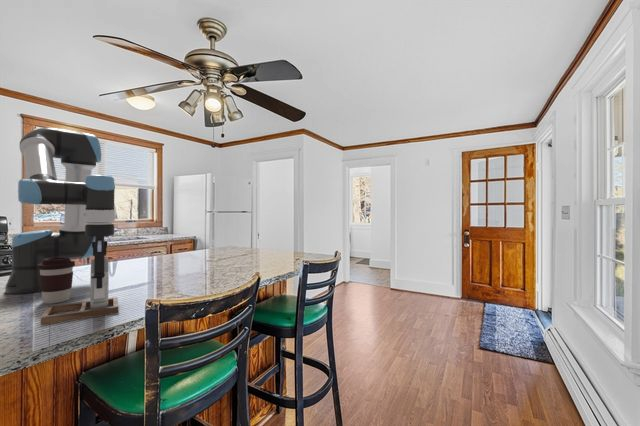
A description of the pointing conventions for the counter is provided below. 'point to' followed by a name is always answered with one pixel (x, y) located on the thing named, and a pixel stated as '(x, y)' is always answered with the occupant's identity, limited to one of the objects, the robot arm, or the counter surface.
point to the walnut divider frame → (83, 313)
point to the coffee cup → (56, 279)
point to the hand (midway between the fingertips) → (99, 295)
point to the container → (104, 301)
